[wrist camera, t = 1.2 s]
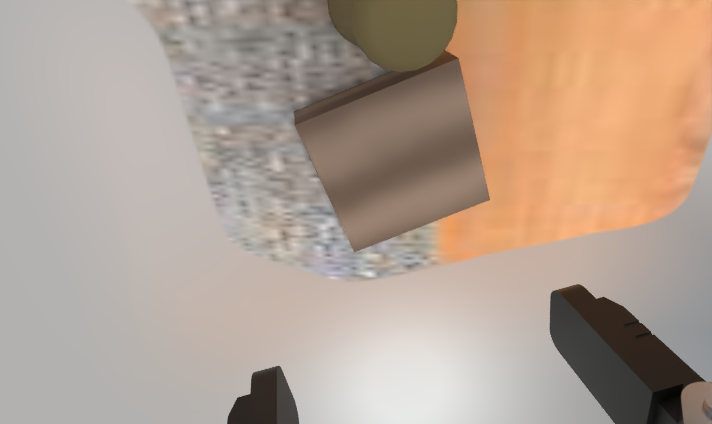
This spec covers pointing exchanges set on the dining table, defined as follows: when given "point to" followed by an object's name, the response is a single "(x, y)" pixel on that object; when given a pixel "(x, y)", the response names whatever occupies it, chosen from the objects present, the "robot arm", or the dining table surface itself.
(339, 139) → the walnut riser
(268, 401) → the robot arm
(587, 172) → the dining table surface
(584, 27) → the dining table surface
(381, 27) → the olive knob-ended peg
